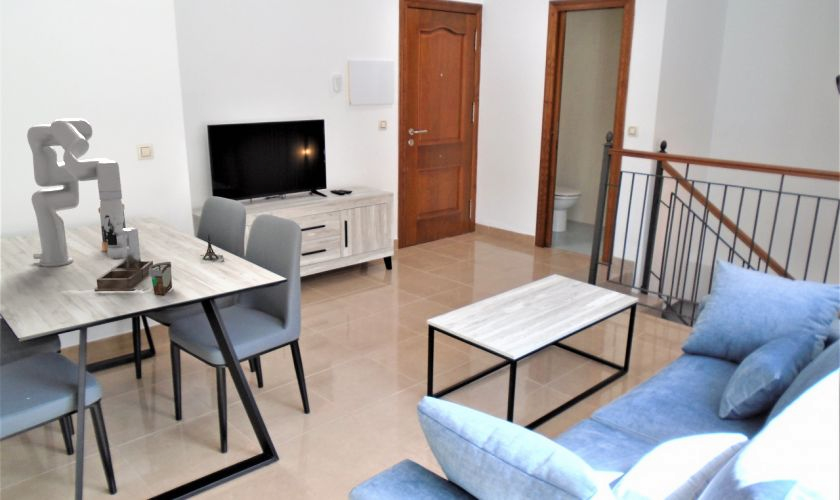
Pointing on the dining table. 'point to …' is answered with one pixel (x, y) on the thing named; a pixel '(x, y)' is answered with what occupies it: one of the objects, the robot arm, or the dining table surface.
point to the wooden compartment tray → (123, 278)
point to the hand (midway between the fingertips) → (116, 242)
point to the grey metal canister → (131, 249)
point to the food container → (161, 278)
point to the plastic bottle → (118, 243)
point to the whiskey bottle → (104, 236)
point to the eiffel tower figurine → (211, 253)
